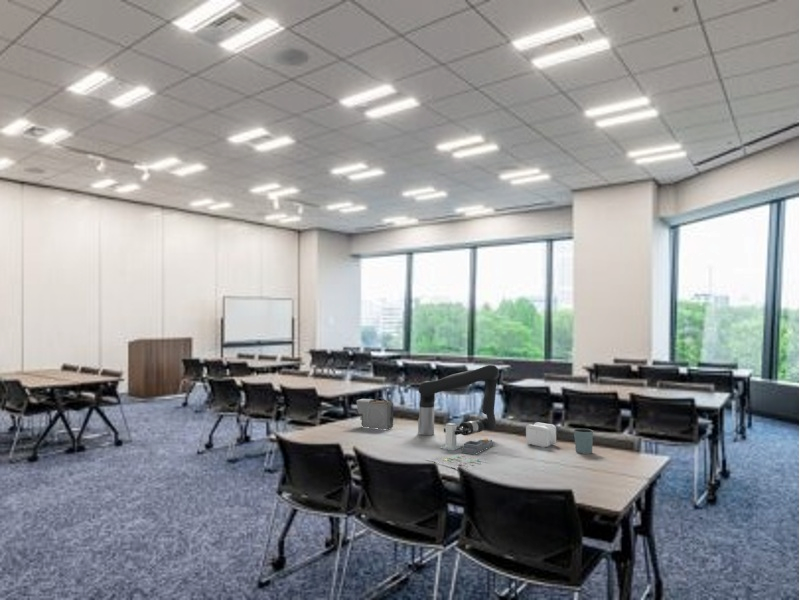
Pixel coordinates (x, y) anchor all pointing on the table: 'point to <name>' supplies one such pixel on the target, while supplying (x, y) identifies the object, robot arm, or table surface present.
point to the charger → (450, 435)
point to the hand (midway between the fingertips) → (449, 431)
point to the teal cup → (583, 440)
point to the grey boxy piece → (376, 413)
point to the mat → (451, 448)
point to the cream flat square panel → (463, 458)
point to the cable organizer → (541, 434)
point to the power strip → (476, 446)
